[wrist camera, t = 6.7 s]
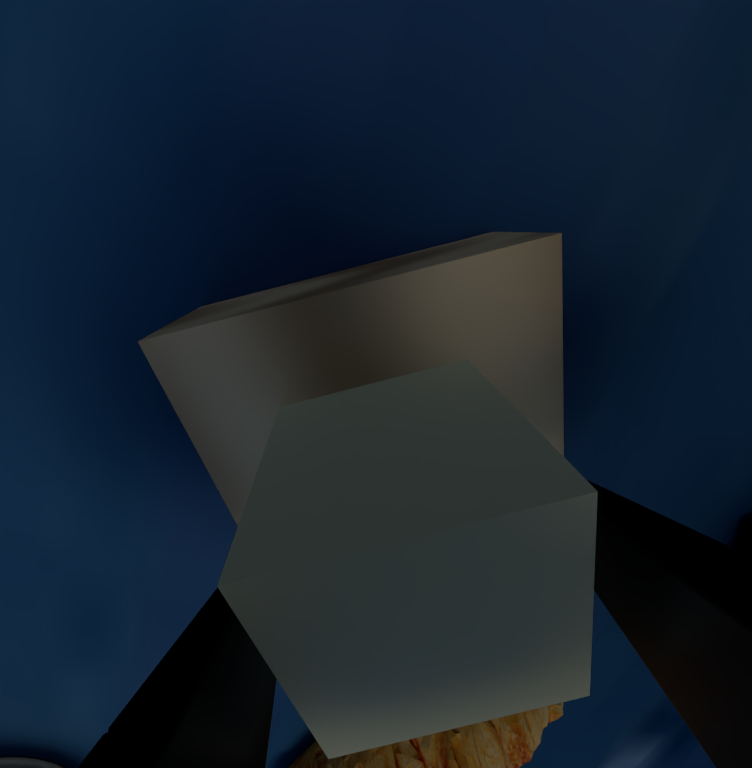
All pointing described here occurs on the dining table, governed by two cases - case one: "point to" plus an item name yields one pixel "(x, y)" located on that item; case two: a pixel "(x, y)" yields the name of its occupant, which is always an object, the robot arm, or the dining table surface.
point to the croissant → (451, 746)
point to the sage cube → (415, 561)
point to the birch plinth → (366, 343)
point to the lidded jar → (26, 763)
